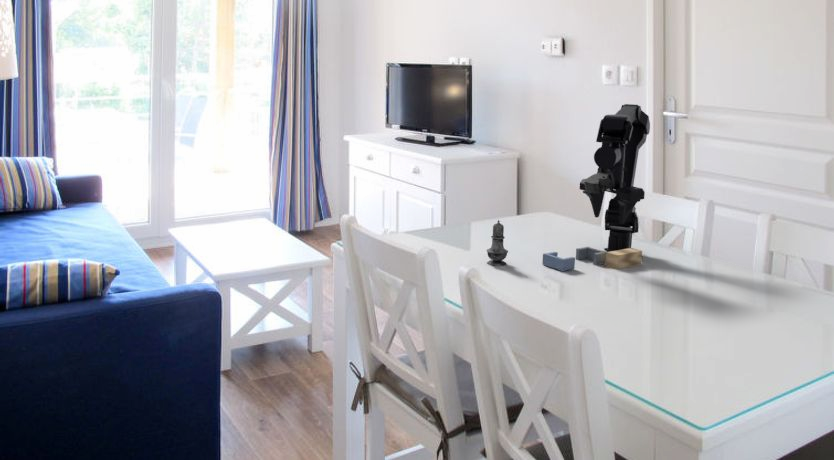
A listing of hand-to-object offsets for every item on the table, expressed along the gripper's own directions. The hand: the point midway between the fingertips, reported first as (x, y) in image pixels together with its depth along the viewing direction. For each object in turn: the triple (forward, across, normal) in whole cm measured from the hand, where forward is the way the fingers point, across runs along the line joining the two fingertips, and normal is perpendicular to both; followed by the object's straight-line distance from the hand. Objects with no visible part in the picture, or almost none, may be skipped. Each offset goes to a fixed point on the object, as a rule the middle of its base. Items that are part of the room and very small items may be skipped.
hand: (609, 220), depth 238 cm
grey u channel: (+12, -5, -1) cm, 13 cm away
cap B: (+12, -4, -14) cm, 19 cm away
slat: (+13, +3, +4) cm, 13 cm away
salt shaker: (+12, -15, -26) cm, 32 cm away
